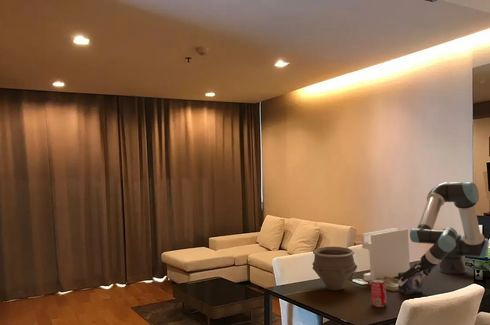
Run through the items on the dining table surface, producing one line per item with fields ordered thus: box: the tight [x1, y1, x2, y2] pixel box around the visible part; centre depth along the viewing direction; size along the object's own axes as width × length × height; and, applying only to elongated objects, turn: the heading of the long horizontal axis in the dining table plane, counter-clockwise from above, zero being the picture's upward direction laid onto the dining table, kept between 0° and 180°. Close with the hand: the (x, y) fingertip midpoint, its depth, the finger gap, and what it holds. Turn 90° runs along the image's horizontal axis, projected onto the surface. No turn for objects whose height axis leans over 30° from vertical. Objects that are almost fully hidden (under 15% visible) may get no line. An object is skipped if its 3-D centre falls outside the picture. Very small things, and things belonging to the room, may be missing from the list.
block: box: [361, 227, 411, 282], centre depth 252 cm, size 35×8×28 cm, turn 124°
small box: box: [397, 272, 423, 296], centre depth 218 cm, size 11×6×10 cm, turn 105°
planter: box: [311, 246, 358, 291], centre depth 230 cm, size 25×24×22 cm
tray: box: [368, 276, 399, 293], centre depth 231 cm, size 14×18×2 cm
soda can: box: [370, 279, 388, 308], centre depth 199 cm, size 7×7×12 cm
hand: (408, 282), depth 218 cm, fingers open, 13 cm apart
